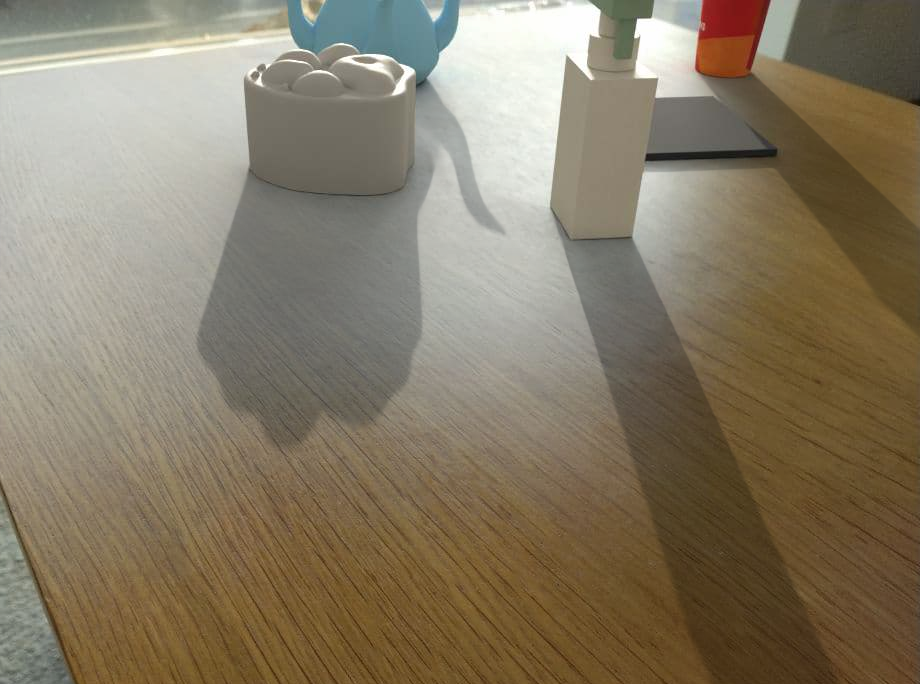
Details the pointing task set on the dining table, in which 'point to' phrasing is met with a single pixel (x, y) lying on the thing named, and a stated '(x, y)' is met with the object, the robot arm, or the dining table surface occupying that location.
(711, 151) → the mat
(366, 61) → the lumpy-topped squat cylinder
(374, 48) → the teapot
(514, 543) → the dining table surface
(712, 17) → the paper cup
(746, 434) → the dining table surface
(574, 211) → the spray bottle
